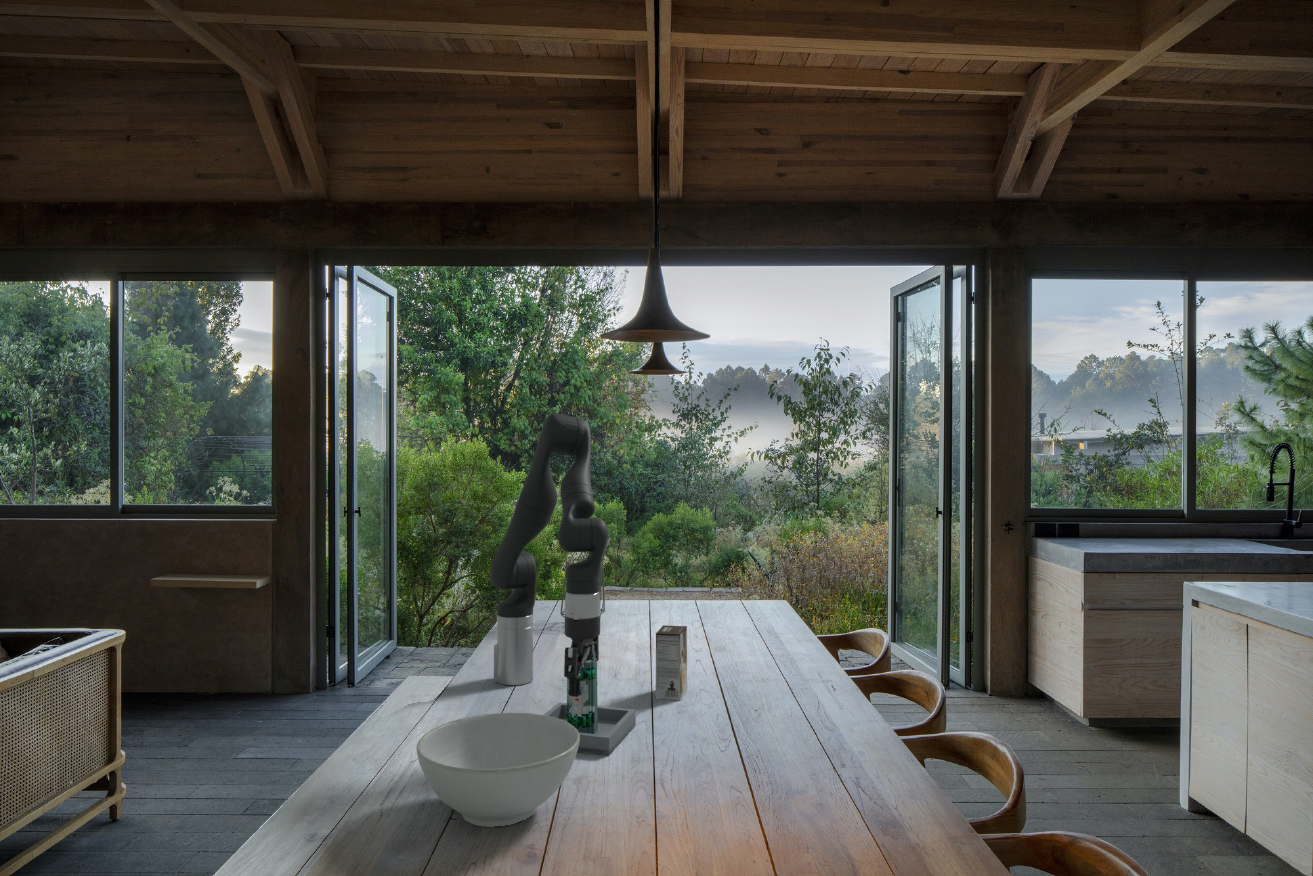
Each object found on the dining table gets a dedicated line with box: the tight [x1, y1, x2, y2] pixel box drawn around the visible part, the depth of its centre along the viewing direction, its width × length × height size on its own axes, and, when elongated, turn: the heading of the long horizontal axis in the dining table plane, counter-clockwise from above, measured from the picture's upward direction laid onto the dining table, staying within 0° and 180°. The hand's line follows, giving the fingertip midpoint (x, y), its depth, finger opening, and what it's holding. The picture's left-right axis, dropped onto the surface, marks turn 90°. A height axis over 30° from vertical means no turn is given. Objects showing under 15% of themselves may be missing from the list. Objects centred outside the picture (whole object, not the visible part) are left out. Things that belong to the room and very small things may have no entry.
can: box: [566, 656, 598, 734], centre depth 173 cm, size 6×6×15 cm
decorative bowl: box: [416, 712, 580, 828], centre depth 137 cm, size 27×27×12 cm
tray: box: [543, 702, 637, 756], centre depth 173 cm, size 18×18×4 cm
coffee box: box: [655, 625, 688, 701], centre depth 202 cm, size 9×6×16 cm
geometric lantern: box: [559, 535, 612, 619], centre depth 278 cm, size 16×16×35 cm
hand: (581, 690), depth 173 cm, fingers open, 8 cm apart
